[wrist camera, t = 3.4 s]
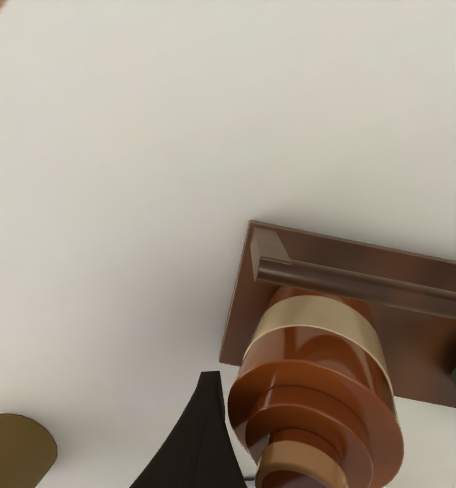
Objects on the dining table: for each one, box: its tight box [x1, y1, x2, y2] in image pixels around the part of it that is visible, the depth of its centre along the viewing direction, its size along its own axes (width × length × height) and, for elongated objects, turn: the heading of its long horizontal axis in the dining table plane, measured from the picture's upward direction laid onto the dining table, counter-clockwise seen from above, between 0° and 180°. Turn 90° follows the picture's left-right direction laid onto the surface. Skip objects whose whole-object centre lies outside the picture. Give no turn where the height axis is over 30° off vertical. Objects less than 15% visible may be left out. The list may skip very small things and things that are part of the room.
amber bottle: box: [228, 286, 404, 488], centre depth 11 cm, size 6×6×8 cm
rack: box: [219, 220, 456, 408], centre depth 14 cm, size 20×9×6 cm, turn 79°
